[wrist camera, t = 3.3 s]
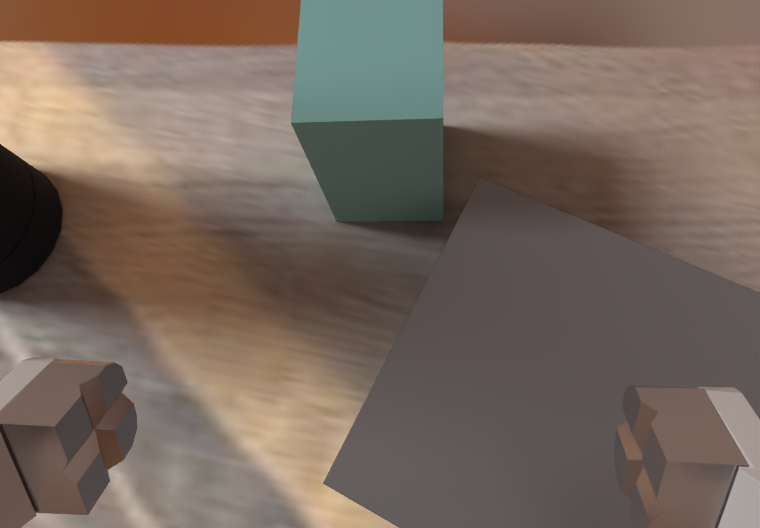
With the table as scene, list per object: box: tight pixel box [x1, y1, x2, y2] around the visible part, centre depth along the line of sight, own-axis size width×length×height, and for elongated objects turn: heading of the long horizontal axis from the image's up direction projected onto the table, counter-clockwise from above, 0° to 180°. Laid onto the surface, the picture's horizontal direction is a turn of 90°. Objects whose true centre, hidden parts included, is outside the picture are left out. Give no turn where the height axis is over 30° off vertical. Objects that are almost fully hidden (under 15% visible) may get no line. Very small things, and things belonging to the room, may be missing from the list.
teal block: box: [291, 0, 443, 222], centre depth 22 cm, size 4×4×8 cm
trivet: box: [323, 177, 760, 528], centre depth 20 cm, size 12×12×3 cm
